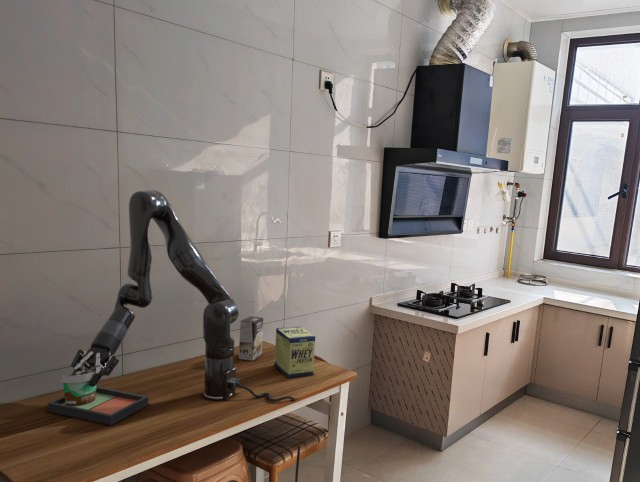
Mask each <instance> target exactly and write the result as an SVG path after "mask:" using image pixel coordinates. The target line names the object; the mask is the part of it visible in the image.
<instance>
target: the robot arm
mask: <svg viewBox="0 0 640 482" xmlns="http://www.w3.org/2000/svg"><path fill="white" fill-rule="evenodd" d="M151 220H152V221H153V222H154V223H155V224H156V226H157V227H158V228H159V230H160V231H161V233H162V236H163V239H164V244H165V250H166V255H167V258H168V260H169V261H170V263H171V264H172V267H174V269H175V271H176V272H177V273H178V274H179V275H180V277H181V278H182V279H184V280H185V281H186V282H187V283H189V284H190V285H191V286H193V287H194V288H195V289H197V291H199V292H200V294H201V295H202V296H203V297H204V299H205V300H206V301H207V305H205V307H204V309H203V312H202V335H203V336H202V337H203V340H204V343H205V345H204V346H205V347H204V379H203V381H204V382H203V384H204V385H203V386H204V387H203V388H204V389H203V397H204V398H205V399H206V400H207V399H208V400H211V401H227V400H229V399H230V398H232V397H233V396H235V395H236V389H237V388H238V387H239V388H241V389H244V390H246V391H248V392H249V393H250V394H251V395H252V396H253V397H255V398H257V399H258V398H262V397H265V396H267V400H268V401H270V402H273V403H274V402H280V401H284V400H288V399H289V400H292V401H293V402H297V399H296V398H295V397H293V396H291V395H285V396H281V397H277V398H272V397H271V394H270V393H269V392H263V393H260V394H257V393H255V392H254V391H253V390H252V389H251V388H249V387H247V386H245V385H244V384H241V378H239V377H237V368H236V367H234V365H235V338H234V336H231V325H232V324H233V323H235V322H236V321H237V320H238V319H239V315H240V309H239V306H238V304H237V302H236V300H234V298H233V297H232V296H231V295H230V293H229V292H228V291H227V290H226V288H224V286H223V285H222V284H221V282H220V281H219V280H218V278H217V277H216V275H215V274H214V272H213V271H212V269H211V268H210V266H209V265H208V263H207V262H206V260H205V258H204V256H203V255H202V254H201V252H200V251H199V249H198V248H197V246H196V245H195V244H194V242H193V241H192V239H191V238H190V236H189V234H188V233H187V231H186V230H185V228H184V227H183V225H182V224H181V222H180V221H179V219H178V216H177V215H176V213H175V211H174V209H173V207H172V205H171V203H170V202H169V200H168V198H167V197H166V196H165V194H164V193H162V192H161V191H159V190H156V189H148V190H147V189H146V190H145V189H144V190H138V191H135V192H133V193H132V194H131V195H130V197H129V200H128V222H129V224H128V225H129V226H128V227H129V254H128V261H127V267H126V269H127V270H126V276H127V277H128V278H129V279H131V280H132V281H134V282H135V283H131V282H126V283H124V284H122V285H121V286H120V287H119V289H118V291H117V296H116V299H115V303H114V306H113V309H112V311H111V313H110V314H109V315H108V318H107V319H106V320H105V321H104V323H103V324H102V325H101V327H100V329H99V330H98V332H97V333H96V335H95V337H94V338H93V340H92V341H91V343H90V348H89V349H87V350H83V349H82V348H80V349H78V350H77V352H76V354H75V356H74V358H73V360H72V362H71V364H70V367H72V368H73V369H74V370H73V372H71V374H73V373H75V372H76V371H79V370H83V369H86V368H89V367H90V366H96V374H95V373H94V375H93V376H92V378H91V380H90V381H89V383H88V385H89V386H91V387H94V386H96V385H98V383H99V382H100V380H101V379H102V377H105V376H106V377H109V376H110V375H111V373H112V372H113V371H114V369H115V368H116V366H117V365H118V364H119V362H120V358H118V357H117V356H115V354H116V353H117V351H118V349H119V348H120V345H121V344H122V343H123V341H124V339H125V337H126V335H127V333H128V331H129V329H130V327H131V325H132V324H133V322H134V320H135V318H136V314H135V312H134V311H133V310H132V309H130V308H129V307H127V306H128V305H130V306H133V307H137V308H141V309H144V308H147V307H149V306H150V305H151V303H152V301H153V298H154V293H153V292H154V291H153V285H152V280H151V271H152V262H153V251H152V248H151V243H150V239H149V227H150V223H151ZM300 455H301V445H298V447H297V453H296V464H295V477H294V482H298V481H299V469H300V468H299V467H300V457H301V456H300Z"/></svg>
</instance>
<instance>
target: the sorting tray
mask: <svg viewBox="0 0 640 482" xmlns="http://www.w3.org/2000/svg"><path fill="white" fill-rule="evenodd" d="M147 406H149V396H147V395H142V394H138V393H131V392H127V391H122V390H117V389H113V388H107V387H104V386H103V387H101V386H96V398H95V400H94V401H93V402H91V403H89V404H86V405H81V406H68V405H66V403H65V395H63V396H60V397H59V398H56V399H54V400H51V401H49V402H48V403H47V410H48V413H53V414H56V415H57V414H58V415H61V416H62V415H63V416H66V417H70V418H71V417H72V418H76V419H79V420H84V421H90V422H95V423H99V424H102V425H103V424H104V425H107V426H108V425H109V426H112V425H114V424H116V423H118V422H120V421H121V420H123V419H125V418H127V417H129V416H131V415H132V414H135V413H136V412H138V411H140V410H142V409H143V408H145V407H147Z"/></svg>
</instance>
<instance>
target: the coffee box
mask: <svg viewBox="0 0 640 482" xmlns="http://www.w3.org/2000/svg"><path fill="white" fill-rule="evenodd" d="M239 322H240V323H239V341H238V342H239V346H238V359H239V360H246V361H251V362H252V361H255V360H256V359H257V358H259V357H260V356H261V355H262V353H263V351H262V349H263V332H264V317H259V316H251V315H250V316H247V317H245V318H243V319H241V320H240V321H239Z"/></svg>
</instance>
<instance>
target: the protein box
mask: <svg viewBox="0 0 640 482" xmlns="http://www.w3.org/2000/svg"><path fill="white" fill-rule="evenodd" d="M315 349H316V336H315V335H314V334H312V333H311V332H309V331H308V330H307V329H305V328H303V327H302V326H288V327H276V329H275V346H274V362H273V363H274V366H275V367H276V368H277V369H278V370H279V371H280V372H281V373H283V375H285V377H287V378H288V379H289V378H295V377H296V378H297V377H305V376H313V375H314V365H315V353H316V352H315V351H316V350H315Z"/></svg>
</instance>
